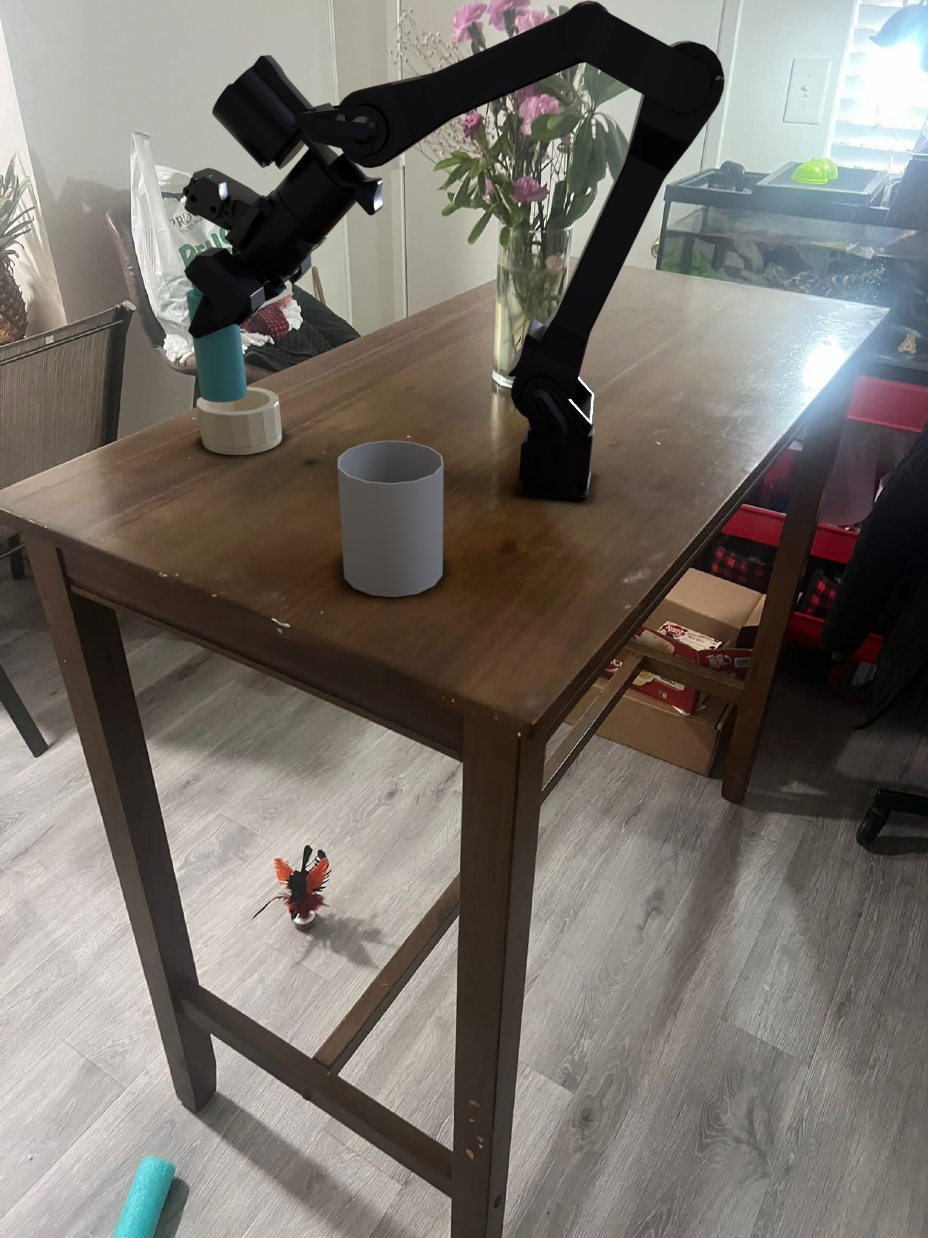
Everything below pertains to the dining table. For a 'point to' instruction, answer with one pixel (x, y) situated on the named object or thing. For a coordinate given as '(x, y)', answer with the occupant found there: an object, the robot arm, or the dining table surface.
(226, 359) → the bottle
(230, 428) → the holder
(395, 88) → the robot arm
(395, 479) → the cup
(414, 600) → the dining table surface
